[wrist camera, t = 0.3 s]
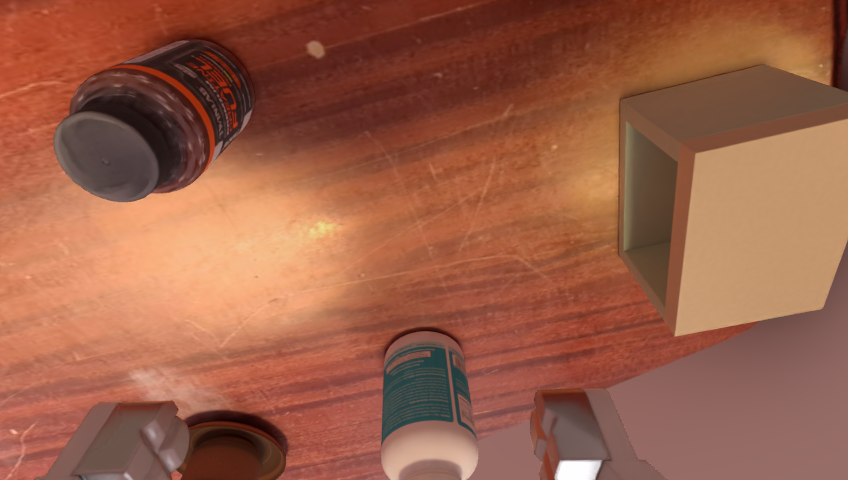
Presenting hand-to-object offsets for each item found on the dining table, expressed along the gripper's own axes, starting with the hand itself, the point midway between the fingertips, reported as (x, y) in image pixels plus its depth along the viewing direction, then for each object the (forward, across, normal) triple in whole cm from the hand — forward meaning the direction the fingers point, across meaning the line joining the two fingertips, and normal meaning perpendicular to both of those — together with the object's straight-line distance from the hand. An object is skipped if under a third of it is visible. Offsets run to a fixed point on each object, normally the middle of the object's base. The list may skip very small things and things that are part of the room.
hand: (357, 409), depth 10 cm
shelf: (+22, -20, +6) cm, 31 cm away
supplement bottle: (+22, +11, -1) cm, 25 cm away
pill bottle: (+22, -2, +24) cm, 32 cm away
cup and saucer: (+21, +20, +37) cm, 47 cm away
